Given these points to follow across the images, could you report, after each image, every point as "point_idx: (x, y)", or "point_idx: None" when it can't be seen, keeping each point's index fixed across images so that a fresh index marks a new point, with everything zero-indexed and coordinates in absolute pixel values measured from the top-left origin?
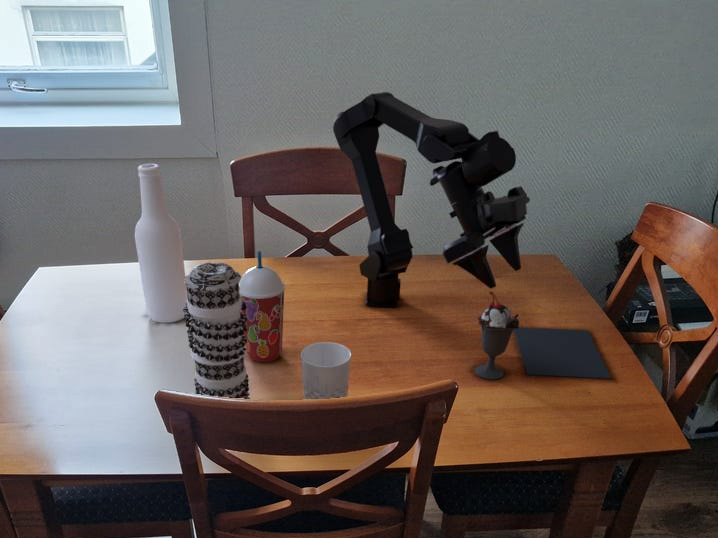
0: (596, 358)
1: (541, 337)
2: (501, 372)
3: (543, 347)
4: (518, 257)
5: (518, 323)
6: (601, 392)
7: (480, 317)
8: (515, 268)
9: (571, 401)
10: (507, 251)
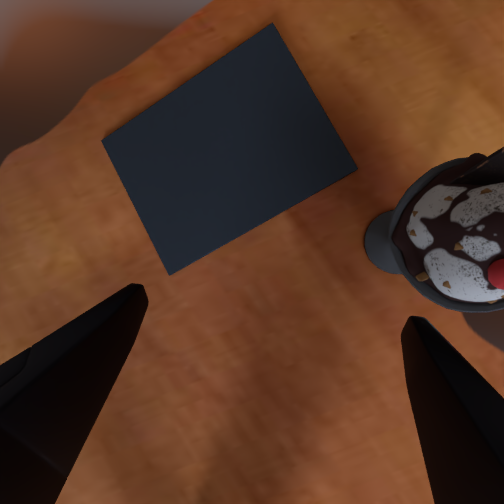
0: (208, 79)
1: (182, 206)
2: (390, 216)
3: (222, 186)
4: (94, 317)
5: (449, 163)
6: (337, 19)
7: (471, 306)
8: (142, 307)
9: (412, 50)
10: (77, 401)
